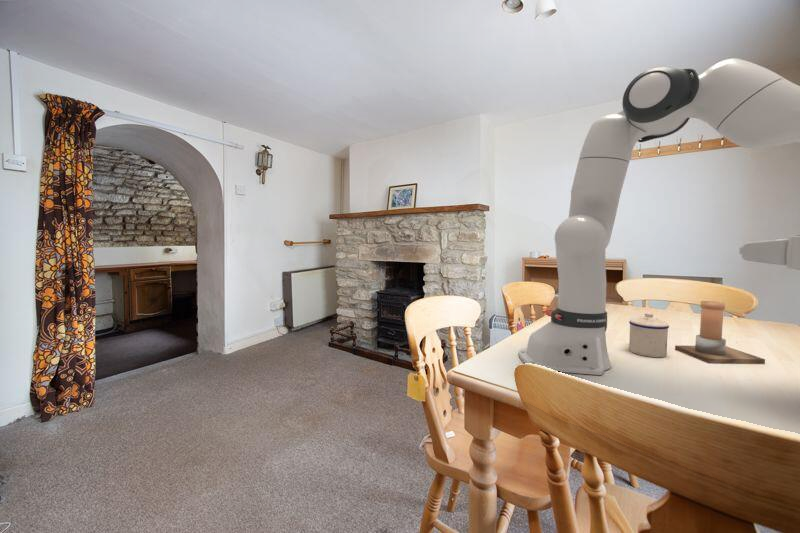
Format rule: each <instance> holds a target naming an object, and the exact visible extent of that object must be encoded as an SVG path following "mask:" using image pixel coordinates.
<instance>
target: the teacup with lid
mask: <svg viewBox="0 0 800 533" xmlns="http://www.w3.org/2000/svg"><path fill="white" fill-rule="evenodd" d="M628 323H629V338H628V339H629V341H628V350H629V351H630V352H631V353H634V354H636V355H639V356H643V357H649V358H665V357H666V356H667V353H668V350H667V349H668V336H669V335H668V334H669V332H668V331H669V328H670V326H669V323H668V322H666V321H663V320H661V319H660V318H658V317H655V316H654V313H652V312H645V313H644V315H641V316H638V317H634V318H631V319H629V321H628Z"/></svg>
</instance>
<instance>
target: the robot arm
mask: <svg viewBox="0 0 800 533" xmlns="http://www.w3.org/2000/svg"><path fill="white" fill-rule="evenodd" d="M622 96H623V97H622V103H621V104H622V110H621V111H620V112H616V113H610V114H606V115H603V116H601V117H598V118H597V119H595V121H593V122H592V124H591V126H590V128H589V130H588V132H587V134H586V137H585V139H584V141H583V143H582V144H583V145H582V147H581V151H580V154H579V158H578V160H577V165H576V169H575V174H574V178H573V181H572V186H571V190H570V204H569V211H568V218H566V219H564V220H563V221H562V222H561V223H560V224H559V226H558V227H557V228H556V231H555V233H554V243H555V244H554V245H555V257H556V267H557V268H556V269H557V277H558V302H557V308H556V309H554V310H553V309H551V308H550V307H548V308H545V309H544V314H545V315H546V316H548V317H550V321H549V322H548V323H546V324H545V325H543V326H541V327H540V328H538V329H537V330H536V331H534V332H531V334H530V335H529V337H528V342H527V347H526V348H521V349H519V351H518V357H519V359H520V360H521V361H522V362H523V363H524V364H525V363H532V364H537V365H541V366H545V367H547V368H551V369H553V370H557V371H560V372H559V373H569V374H572V373H573V374H581V375H582V374H583V375H584V374H585V375H592V376H593V375H594V376H595V375H596V376H602V375H604V371H607V370H609V369H610V368H611V366H612V363H611V360H610V357H609V353H608V347H607V339H606V336H607V335H606V332H607V328H608V311H606V304H607V303H606V302H607V267H606V249H607V247H608V246H609V245H610V241H611V238H612V234H613V229H614V225H615V220H616V217H617V212H618V207H619V203H620V198H621V194H622V189H623V187H624V182H625V179H626V177H627V172H628V168H629V164H630V161H631V157H632V153H633V150H634V148H635V145H636V144H637V142H638V143H644V142H645V143H646V142H648V141H651V140H655V139H656V140H657V139H661V138H664V137H668V136H671V135H674V134H675V133H677V132H679V131H680V130H682V128H683V127H685V126H686V124H687V123H688V122H689V120H690V119H697V120H700V121H703V122H704V123H707V124H708V125H709V126H710V127H711V128H713V129H714V130H715V131H716V132H718V134H720V135H721V136H722V137H724V138H725V139H726V140H728V141H729V142H731V143H733V144H735V145H737V146H739V147H742V148H744V149H757V150H758V149H769V148H774V147H779V146H784V145H788V144H793V143H800V85H797V84H796V83H794V82H792V81H790V80H788V79H787V78H785V77H783V76H781V75H780V74H778V73H777V72H775V71H773V70H770V69H769V68H767V67H764V66H762V65H759V64H756V63H754V62H751V61H748V60H744V59H741V58H736V57H735V58H732V57H731V58H727V59H724V60H721V61H719V62H717V63H715V64H713V65H711V66H710V67H709V68H708V69H706V70H705V71H704V72H702V73H701V74H698V73H697V71H696V69H693V68H675V67H667V66H660V67H659V66H658V67H654V68H650V69H647V70H645V71H643V72H641V73H640V74H638V75H637V76H635V77H634V78H633V79H632V80H631V81H630V82H629V84H628V85H627V87H626V89H625V91H624V93H623V95H622ZM738 251H739V254H740V255H741V257H742V258H741V259H743V261H744V260H745V261H746V262H747V261H749V262H755V263H762V264H769V265H776V266H777V265H778V266H786V268H787V269H789V270H800V234H797V235H790V236H789V237H788V238H781V239H771V240H770V239H769V240H759V241H750V242H745V243H743V245H742V246H741V247H739V250H738Z"/></svg>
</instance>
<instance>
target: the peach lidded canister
mask: <svg viewBox="0 0 800 533" xmlns="http://www.w3.org/2000/svg"><path fill="white" fill-rule="evenodd" d="M700 308H701V309H700V325H699V327H700V328H699V335H700V337H701V338H704V339H709V340H722V338H723V325H724V324H723V323H724V311H725V308H726V303H725V302H721V301H715V300H714V301H712V300H711V301H710V300H702V301H701V300H700Z"/></svg>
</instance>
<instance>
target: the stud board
mask: <svg viewBox="0 0 800 533" xmlns="http://www.w3.org/2000/svg"><path fill="white" fill-rule="evenodd" d="M726 343H727V339H725V338H723V337H722V340H709V339H704V338H701V337H700V334H697V335H695V344H694V345H675V346H674V350H675V351H677V352H680V353H683V354H686V355H688V356H690V357H693V358H695V359H697V360H700V361H702V362H705V363H707V364H742V365H743V364H747V365H749V364H753V365H754V364H755V365H756V364H758V365H760V364H761V365H762V364H763V365H765V364H766V359H765V358H762V357H760V356H756V355H754V354H750V353H748V352H744V351H742V350H738V349H736V348H733V347H730V346H726V345H727V344H726Z"/></svg>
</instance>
